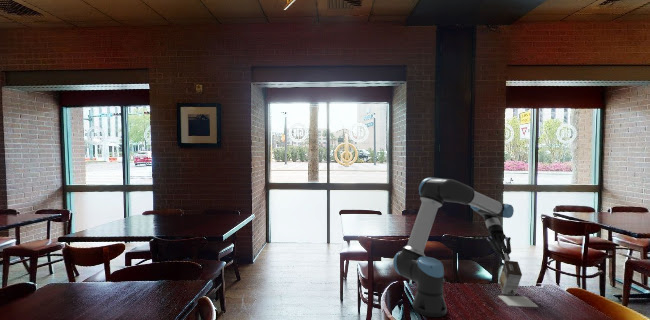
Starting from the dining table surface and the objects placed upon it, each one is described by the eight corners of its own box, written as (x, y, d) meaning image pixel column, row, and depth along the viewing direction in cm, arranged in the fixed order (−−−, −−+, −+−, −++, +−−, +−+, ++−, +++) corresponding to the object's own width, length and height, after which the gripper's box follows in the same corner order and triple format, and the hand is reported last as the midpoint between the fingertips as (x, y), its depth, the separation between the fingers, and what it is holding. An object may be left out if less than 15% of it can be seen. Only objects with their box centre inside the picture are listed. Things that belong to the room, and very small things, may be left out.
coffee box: (498, 280, 179) (504, 259, 172) (511, 282, 178) (517, 261, 170) (502, 294, 172) (508, 273, 164) (515, 296, 170) (522, 274, 162)
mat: (508, 306, 159) (508, 305, 159) (497, 296, 170) (497, 295, 170) (538, 307, 158) (538, 306, 158) (525, 297, 169) (525, 296, 169)
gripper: (503, 231, 192) (518, 269, 176) (480, 230, 193) (493, 268, 176) (508, 224, 187) (524, 262, 170) (485, 223, 187) (498, 261, 171)
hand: (508, 265), depth 173 cm, fingers closed
